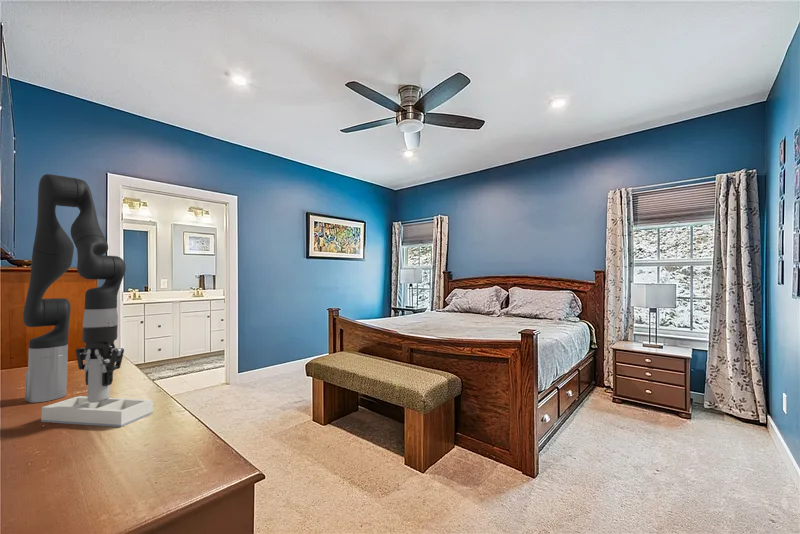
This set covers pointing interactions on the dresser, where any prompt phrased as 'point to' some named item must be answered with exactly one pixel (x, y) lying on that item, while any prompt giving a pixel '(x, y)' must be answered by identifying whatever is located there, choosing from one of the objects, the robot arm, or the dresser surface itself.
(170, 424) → the dresser surface
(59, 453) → the dresser surface
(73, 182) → the robot arm
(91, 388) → the beverage can
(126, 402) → the can caddy
